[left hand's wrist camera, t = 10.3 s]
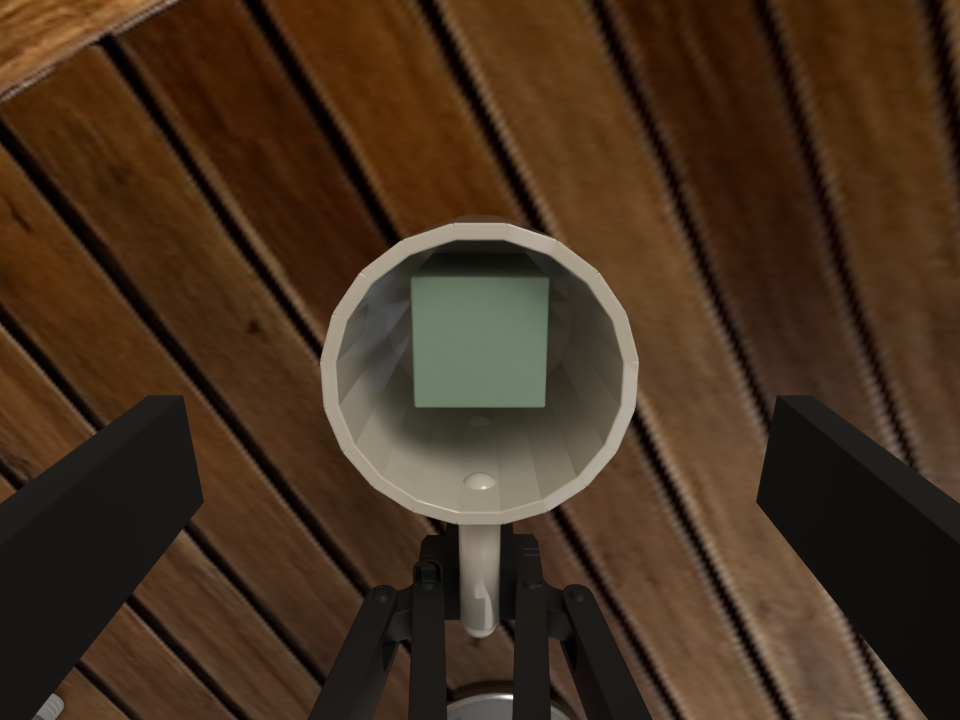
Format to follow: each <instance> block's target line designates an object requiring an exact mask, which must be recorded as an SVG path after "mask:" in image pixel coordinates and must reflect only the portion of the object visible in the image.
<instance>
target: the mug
mask: <svg viewBox="0 0 960 720" xmlns="http://www.w3.org/2000/svg"><path fill="white" fill-rule="evenodd" d="M433 253H526V254H527V255H528V256H529V257H530V258H531V259H532V260H533V261H534V262H535V263H536V264H537V265H538V267H539V268H540V269H541V270H542V271H543V272H544V273H545V274H546V275H547V276H548V277H549V308H548V337H547V366H546V396H545V406H544V407H543V408H417V407H415V405H414V382H413V351H412V319H411V288H410V279H411V277H412V276H413V275H414V274H415V272H416V271H417V270H418V269H419V268H420V267H421V266H422V265H423V264H424V263H425V261H426V260H427V259H428V258H429V257H430V256H431V255H432V254H433ZM320 367H321V379H322V392H323V405H324V408H325V412H326V415H327V417H328V420H329V422H330V424H331V427H332V429H333V431H334V434H335V436H336V438H337V441H338V443H339V445H340V448H341V450H342V451H343V453H344V454H345V456H346V457H347V458H348V459H349V460H350V461H351V463H352V464H353V465H354V466H355V467H356V468H357V470H358V471H359V472H360V473H361V474H362V475H363V477H364V478H365V479H366V480H367V481H368V482H369V483H370V485H371V486H373V487H374V488H375V489H376V490H378V491H380V492H381V493H383V494H384V495H386V496H387V497H389V498H391V499H392V500H394V501H395V502H397V503H399V504H400V505H402V506H403V507H405V508H406V509H408V510H410V511H412V512H414V513H417V514H421V515H424V516H428V517H431V518H435V519H438V520H442V521H445V522H449V523H452V524H456V523H457V524H458V525H459V588H460V622H461V625H462V627H463V629H464V630H465V631H466V633H468V634H469V635H470V636H472V637H475V638H484V637H487V636H489V635H490V634H492V633H493V632H494V631H495V629H496V628H497V625H498V623H499V613H500V525H501V524H507V523H510V522H514V521H517V520H521V519H524V518H528V517H531V516H535V515H538V514H542V513H545V512H547V511H549V510H551V509H553V508H554V507H556V506H557V505H559V504H561V503H562V502H564V501H565V500H567V499H568V498H570V497H572V496H573V495H575V494H576V493H578V492H580V491H581V490H583V489H584V488H585V487H586V486H588V485H589V484H590V482H591V481H592V480H593V479H594V478H595V477H596V475H597V474H598V473H599V472H600V471H601V470H602V468H603V467H604V466H605V465H606V464H607V463H608V462H609V460H610V459H611V458H612V457H613V456H614V455H615V453H616V451H617V450H618V448H619V446H620V443H621V441H622V439H623V436H624V434H625V431H626V429H627V427H628V424H629V422H630V420H631V417H632V415H633V413H634V410H635V409H634V408H635V406H636V393H637V380H638V367H639V362H638V355H637V351H636V347H635V343H634V340H633V336H632V332H631V328H630V324H629V320H628V316H627V314H626V312H625V310H624V309H623V307H622V306H621V304H620V303H619V301H618V300H617V298H616V297H615V295H614V294H613V292H612V291H611V289H610V288H609V286H608V285H607V283H606V282H605V280H604V279H603V277H602V276H601V274H600V273H599V272H598V271H597V270H596V269H595V268H593V267H592V266H591V265H590V264H588V263H587V262H586V261H584V260H583V259H582V258H580V257H579V256H578V255H576V254H575V253H574V252H572V251H571V250H570V249H569V248H567V247H566V246H565V245H563V244H562V243H561V242H559V241H558V240H556V239H554V238H552V237H550V236H548V235H546V234H544V233H542V232H540V231H538V230H536V229H533V228H531V227H529V226H527V225H524V224H521V223H518V222H515V221H512V220H509V219H507V218H503V217H500V216H496V215H463V216H459V217H456V218H453V219H450V220H447V221H444V222H441V223H438V224H435V225H432V226H430V227H428V228H426V229H424V230H422V231H420V232H418V233H415V234H413V235H411V236H409V237H407V238H405V239H404V240H402V241H400V242H398V243H397V244H396V245H394V246H393V247H392V248H391V249H389V250H388V251H387V252H385V253H384V254H383V255H381V256H380V257H379V258H377V259H376V260H375V261H373V262H372V263H371V264H370V265H368V266H367V267H366V268H364V269H363V270H362V271H361V272H360V273H359V274H358V276H357V277H356V279H355V280H354V282H353V283H352V285H351V286H350V288H349V289H348V291H347V292H346V294H345V295H344V297H343V298H342V300H341V301H340V303H339V304H338V306H337V307H336V309H335V310H334V312H333V315H332V317H331V320H330V324H329V328H328V332H327V336H326V340H325V344H324V348H323V351H322V355H321V362H320Z"/></svg>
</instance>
